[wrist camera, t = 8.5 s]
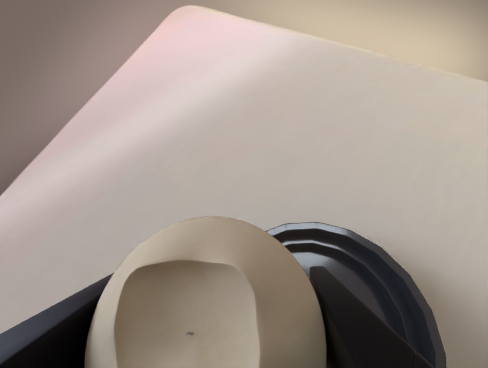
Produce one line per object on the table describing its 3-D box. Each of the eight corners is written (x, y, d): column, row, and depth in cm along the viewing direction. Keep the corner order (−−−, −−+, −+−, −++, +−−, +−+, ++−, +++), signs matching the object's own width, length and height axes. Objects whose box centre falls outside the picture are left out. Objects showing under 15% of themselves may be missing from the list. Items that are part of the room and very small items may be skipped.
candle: (175, 314, 14) (-8, 312, 5) (252, 246, 15) (209, 150, 6) (239, 420, 12) (105, 736, 3) (325, 331, 13) (418, 367, 4)
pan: (444, 303, 17) (481, 302, 14) (359, 529, 14) (382, 595, 10) (277, 206, 22) (276, 189, 19) (178, 356, 18) (155, 365, 15)
